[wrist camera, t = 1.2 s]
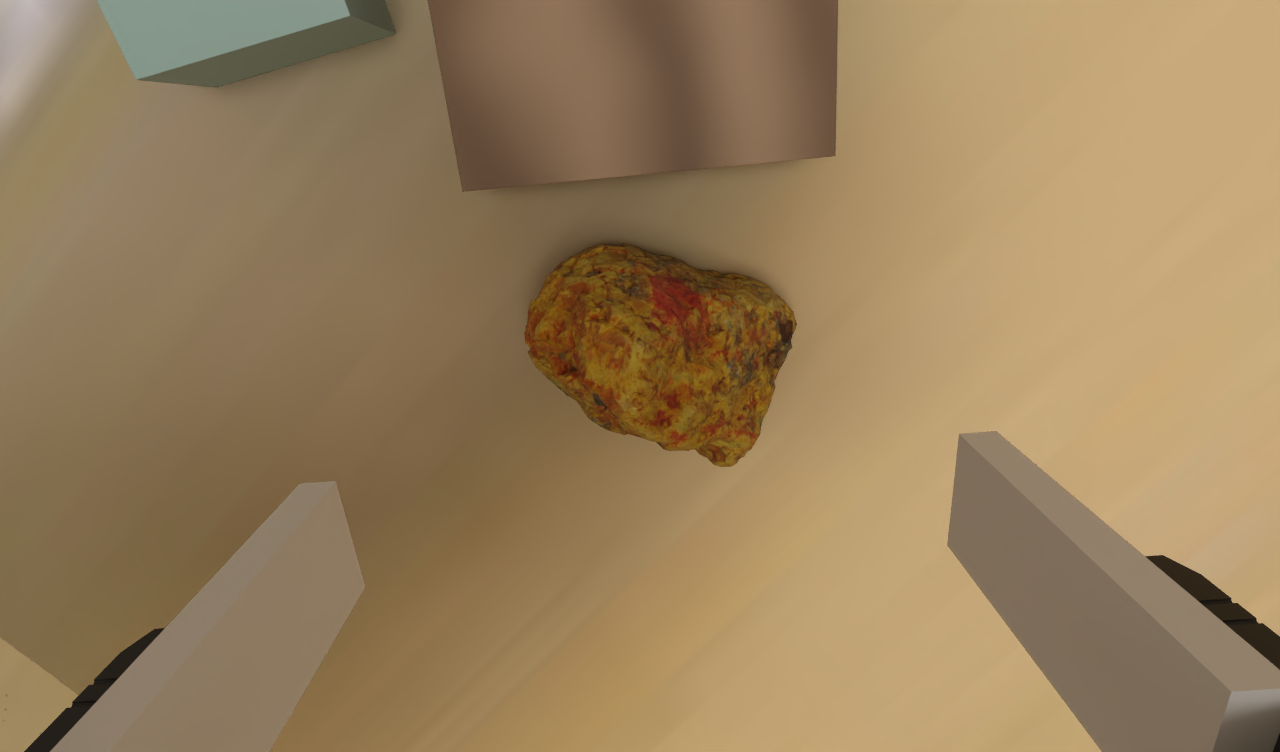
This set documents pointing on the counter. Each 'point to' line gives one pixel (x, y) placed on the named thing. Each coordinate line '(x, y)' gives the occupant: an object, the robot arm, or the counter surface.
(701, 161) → the walnut block
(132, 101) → the counter surface
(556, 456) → the counter surface
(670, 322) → the rock
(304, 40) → the teal block
